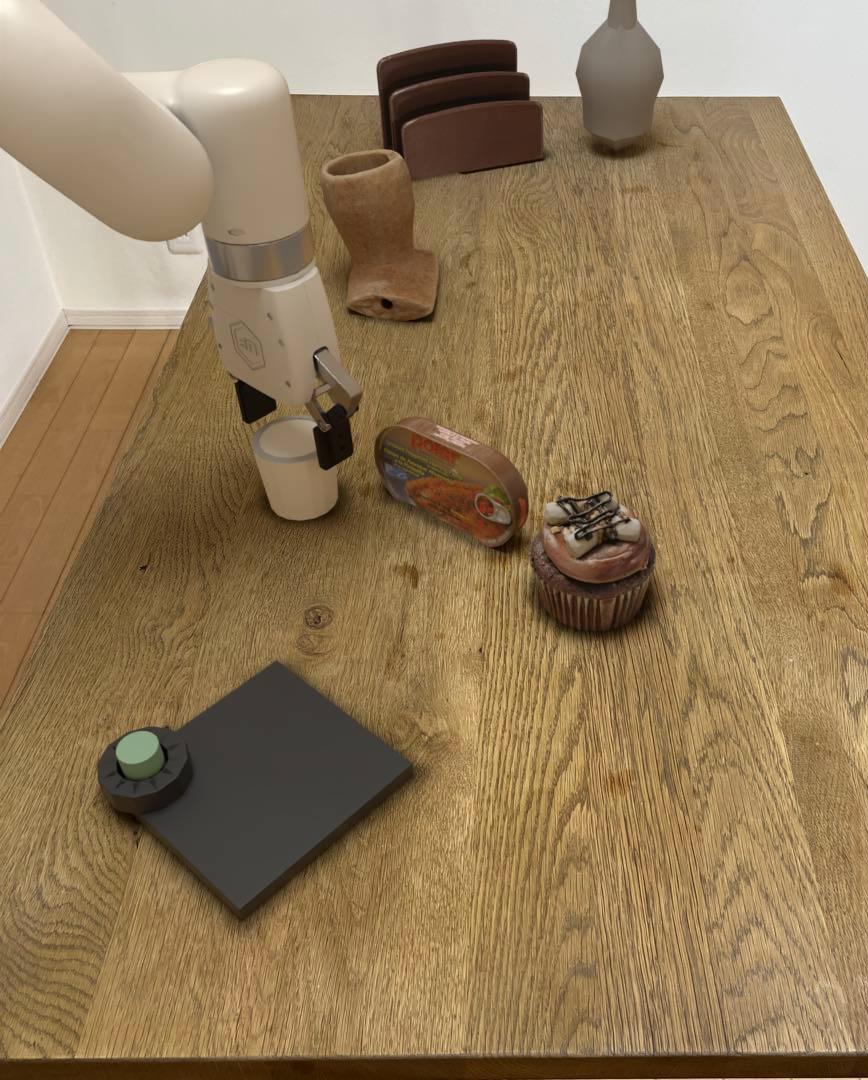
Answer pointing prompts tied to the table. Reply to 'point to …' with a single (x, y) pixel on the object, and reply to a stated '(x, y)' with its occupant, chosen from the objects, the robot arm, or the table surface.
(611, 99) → the bottle
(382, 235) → the clay boot vessel
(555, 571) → the cupcake
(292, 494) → the white cup
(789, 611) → the table surface
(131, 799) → the scale
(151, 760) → the button
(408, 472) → the tin
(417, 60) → the letter holder
